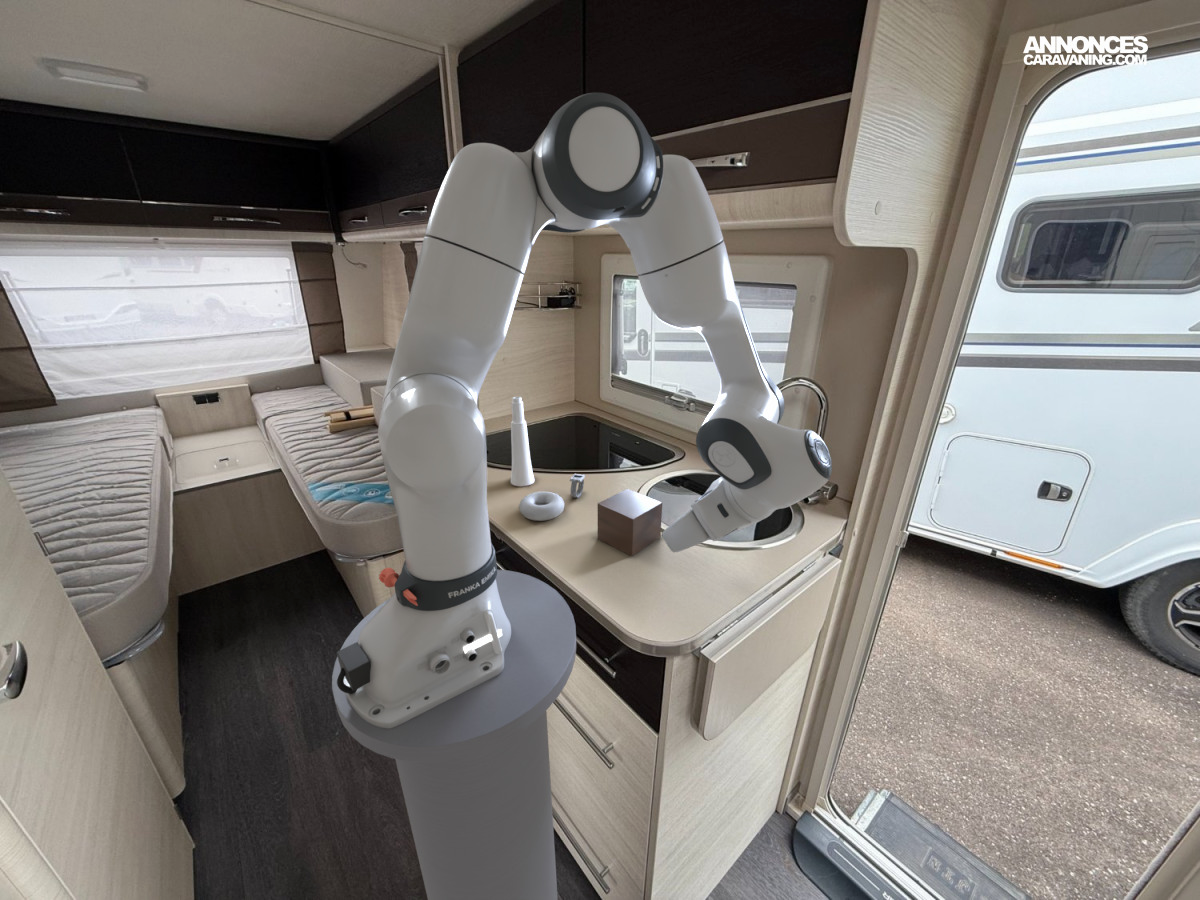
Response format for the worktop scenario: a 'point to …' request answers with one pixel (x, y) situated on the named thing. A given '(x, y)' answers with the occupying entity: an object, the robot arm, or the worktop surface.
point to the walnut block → (629, 521)
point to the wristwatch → (576, 479)
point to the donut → (541, 506)
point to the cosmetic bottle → (520, 447)
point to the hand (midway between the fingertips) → (681, 531)
